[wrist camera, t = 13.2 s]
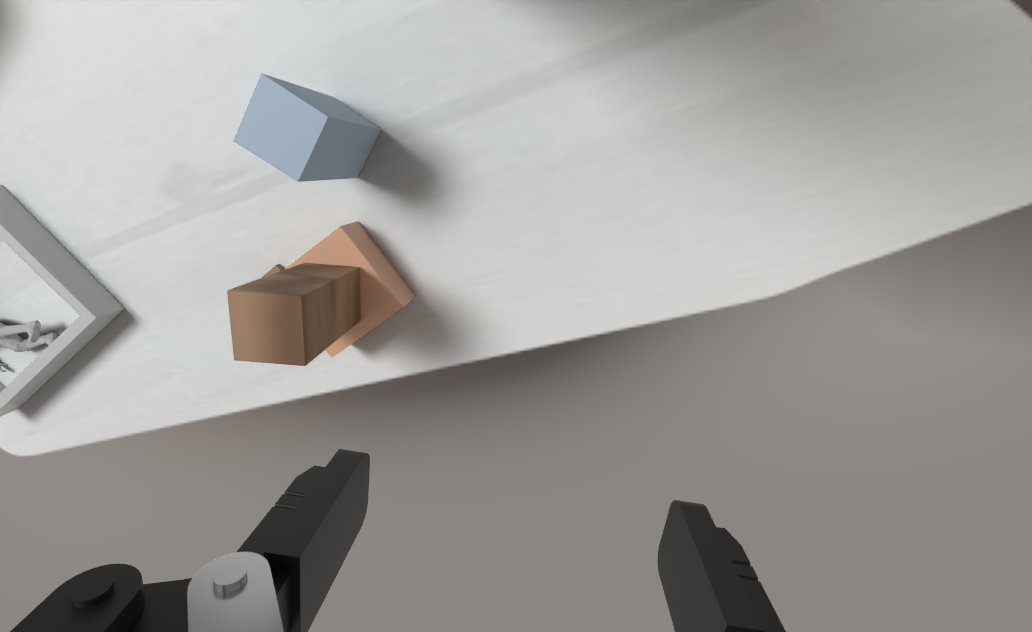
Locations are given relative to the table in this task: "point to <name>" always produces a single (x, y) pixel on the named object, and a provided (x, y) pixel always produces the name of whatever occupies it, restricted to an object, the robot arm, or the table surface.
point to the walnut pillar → (294, 313)
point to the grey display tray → (69, 281)
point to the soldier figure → (14, 342)
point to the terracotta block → (362, 279)
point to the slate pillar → (305, 132)
